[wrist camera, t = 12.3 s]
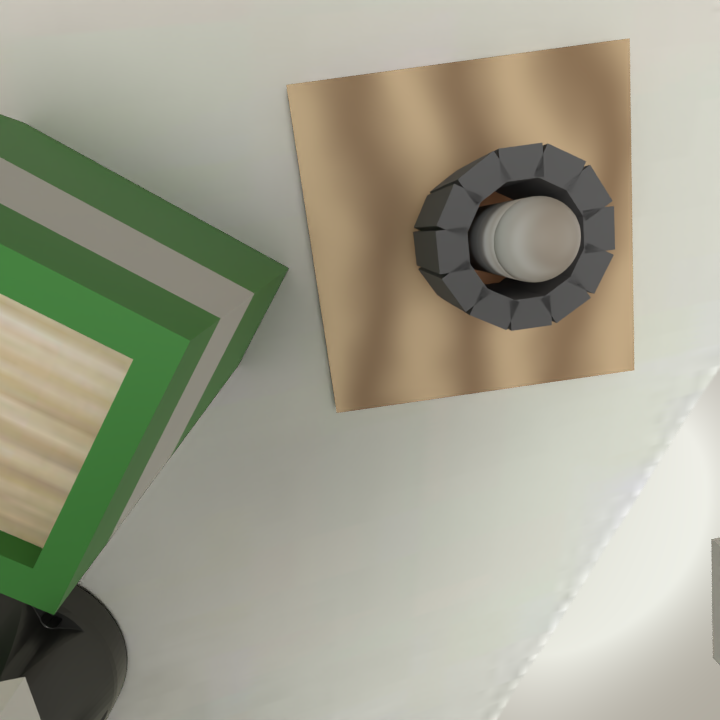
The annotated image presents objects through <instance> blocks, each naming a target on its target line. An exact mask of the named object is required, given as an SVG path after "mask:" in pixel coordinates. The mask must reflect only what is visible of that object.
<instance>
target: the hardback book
mask: <svg viewBox="0 0 720 720" xmlns="http://www.w3.org/2000/svg"><path fill="white" fill-rule="evenodd" d="M288 269H289V268H287V267H286V266H284V265H282V264H280V263H278V262H276V261H275V260H273V259H271V258H269V257H267V256H266V255H264V254H262V253H260V252H258V251H256V250H255V249H253V248H251V247H249V246H247V245H246V244H244V243H242V242H240V241H238V240H236V239H235V238H233V237H231V236H229V235H227V234H225V233H224V232H222V231H220V230H218V229H216V228H215V227H213V226H211V225H209V224H207V223H205V222H204V221H202V220H200V219H198V218H196V217H195V216H193V215H191V214H189V213H187V212H185V211H184V210H182V209H180V208H178V207H176V206H175V205H173V204H171V203H169V202H167V201H165V200H164V199H162V198H160V197H158V196H156V195H154V194H153V193H151V192H149V191H147V190H145V189H144V188H142V187H140V186H138V185H136V184H134V183H133V182H131V181H129V180H127V179H125V178H124V177H122V176H120V175H118V174H116V173H114V172H113V171H111V170H109V169H107V168H105V167H104V166H102V165H100V164H98V163H96V162H94V161H93V160H91V159H89V158H87V157H85V156H83V155H82V154H80V153H78V152H76V151H74V150H73V149H71V148H69V147H67V146H65V145H63V144H62V143H60V142H58V141H56V140H54V139H53V138H51V137H49V136H47V135H45V134H43V133H42V132H40V131H38V130H36V129H34V128H33V127H31V126H29V125H27V124H25V123H23V122H20V121H17V120H14V119H12V118H9V117H6V116H3V115H0V593H1V594H4V595H6V596H9V597H11V598H14V599H16V600H18V601H21V602H23V603H26V604H28V605H31V606H33V607H36V608H38V609H41V610H43V611H45V612H48V613H50V614H53V615H54V614H55V613H56V612H57V610H58V609H59V607H60V606H61V605H62V603H63V602H64V601H65V599H66V598H67V597H68V595H69V594H70V593H71V591H72V590H73V589H74V587H75V586H76V584H77V583H78V582H79V580H80V579H81V578H82V576H83V575H84V574H85V572H86V571H87V570H88V568H89V567H90V566H91V564H92V563H93V561H94V560H95V559H96V557H97V556H98V555H99V553H100V552H101V551H102V549H103V548H104V547H105V545H106V544H107V542H108V541H109V540H110V538H111V537H112V536H113V534H114V533H115V532H116V530H117V529H118V528H119V526H120V525H121V524H122V522H123V521H124V519H125V518H126V517H127V515H128V514H129V513H130V511H131V510H132V509H133V507H134V506H135V505H136V503H137V502H138V501H139V499H140V498H141V496H142V495H143V494H144V492H145V491H146V490H147V488H148V487H149V486H150V484H151V483H152V482H153V480H154V479H155V478H156V476H157V475H158V473H159V472H160V471H161V469H162V468H163V467H164V465H165V464H166V463H167V461H168V460H169V459H170V457H171V456H172V454H173V453H174V452H175V450H176V449H177V448H178V446H179V445H180V444H181V442H182V441H183V440H184V438H185V437H186V436H187V434H188V433H189V431H190V430H191V429H192V427H193V426H194V425H195V423H196V422H197V421H198V419H199V418H200V417H201V415H202V414H203V413H204V411H205V410H206V408H207V407H208V406H209V404H210V403H211V402H212V400H213V399H214V398H215V396H216V395H217V394H218V392H219V391H220V390H221V388H222V387H223V385H224V384H225V383H226V381H227V380H228V379H229V377H230V376H231V375H232V373H233V372H234V371H235V369H236V368H237V366H238V365H239V363H240V361H241V359H242V357H243V355H244V353H245V351H246V349H247V348H248V346H249V344H250V342H251V340H252V338H253V336H254V334H255V332H256V330H257V328H258V326H259V324H260V323H261V321H262V319H263V317H264V315H265V313H266V311H267V309H268V307H269V305H270V303H271V301H272V300H273V298H274V296H275V294H276V292H277V290H278V288H279V286H280V284H281V282H282V280H283V278H284V277H285V275H286V273H287V271H288Z"/></svg>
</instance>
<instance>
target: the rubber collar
mask: <svg viewBox="0 0 720 720" xmlns="http://www.w3.org/2000/svg"><path fill="white" fill-rule="evenodd" d="M585 163H586V161H585V160H583V159H580V158H578V157H576V156H574V155H572V154H570V153H568V152H565V151H563V150H561V149H559V148H557V147H555V146H553V145H550V144H548V143H547V144H545V145H543V143H535V144H528V145H521V146H514V147H506V148H499V149H497V150H495V151H492V152H490V153H488V154H487V155H485V156H483V157H481V158H479V159H477V160H475V161H473V162H471V163H470V164H468V165H466V166H464V167H462V168H460V169H458V170H457V171H455V172H454V173H453V174H452V175H450V176H449V177H448V178H446V179H445V180H444V181H443V182H441V183H440V184H439V185H438V186H436V187H435V188H434V189H433V190H431V191H430V193H431V194H429V195H427V197H426V199H425V202H424V204H423V206H422V209H421V211H420V214H419V216H418V218H417V221H416V223H415V225H414V228H416V229H418V230H420V231H415V232H413V236H414V245H415V255H416V264H417V266H420V268H419V269H418V270H419V271H420V272H421V274H422V275H423V276H424V278H425V279H426V281H427V282H428V283H429V285H430V286H431V287H432V289H433V290H434V291H435V293H436V294H437V295H438V296H440V298H442V299H444V300H445V301H447V302H449V303H450V304H452V305H454V306H455V307H457V308H459V309H460V310H462V311H464V312H465V313H467V314H469V315H471V316H473V317H475V318H478V319H480V320H483V321H485V322H488V323H490V324H492V325H495V326H497V327H500V328H502V329H505V330H507V329H509V330H511V331H514V330H521V329H528V328H535V327H542V326H549V325H552V321H553V322H555V323H558V322H559V321H560V320H562V319H563V318H564V317H566V316H567V315H568V314H570V313H571V312H572V311H574V310H575V309H577V308H578V307H579V306H581V305H582V304H583V303H585V302H586V301H587V300H589V299H590V298H591V297H590V296H589V294H588V293H587V292H589V293H593V294H595V292H596V290H597V288H598V286H599V284H600V282H601V280H602V278H603V276H604V274H605V272H606V270H607V268H608V266H609V264H610V262H611V260H612V258H613V256H614V255H613V254H611V253H609V252H607V251H608V250H615V222H614V206H610V207H605V206H607V205H608V204H609V203H611V202H612V199H611V197H610V196H609V194H608V193H607V191H606V189H605V188H604V186H603V185H602V183H601V181H600V180H599V178H598V176H597V175H596V173H595V172H594V170H593V168H592V167H591V165H588V166H584V165H585ZM494 191H495V192H497V193H499V194H501V195H504V196H506V197H508V198H510V199H513V200H517V199H522V198H527V197H532V196H547V197H551V198H554V199H557V200H559V201H561V202H563V203H564V204H565V205H567V206H568V207H569V208H570V209H571V210H572V212H573V213H574V214H575V216H576V218H577V220H578V222H579V226H580V231H581V242H580V247H579V250H578V253H577V255H576V257H575V259H574V261H573V262H572V263H571V265H570V266H569V267H568V268H567V269H566V270H565V271H563V272H562V273H561V274H560V275H558V276H556V277H554V278H552V279H549V280H547V281H543V282H524V281H520V280H516V279H512V278H508V277H506V278H504V279H503V280H502V281H500V282H499V283H492V284H484V283H483V282H482V280H481V279H480V277H479V276H478V275H477V273H476V272H475V270H474V269H473V267H472V266H471V265H470V256H469V245H468V233H467V232H468V230H469V228H470V226H471V223H472V221H473V219H474V216H475V214H476V212H477V210H478V207H479V205H480V203H481V202H482V201H483V200H484V199H486V198H487V197H488V196H489V195H491V194H492V193H493V192H494Z"/></svg>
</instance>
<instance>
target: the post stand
mask: <svg viewBox="0 0 720 720" xmlns="http://www.w3.org/2000/svg"><path fill="white" fill-rule="evenodd" d="M286 86H287V92H288V99H289V105H290V112H291V118H292V125H293V131H294V138H295V144H296V151H297V157H298V164H299V170H300V177H301V183H302V190H303V196H304V203H305V209H306V216H307V222H308V229H309V235H310V242H311V248H312V255H313V261H314V268H315V274H316V281H317V287H318V294H319V300H320V307H321V313H322V320H323V326H324V333H325V339H326V346H327V352H328V359H329V365H330V372H331V378H332V385H333V391H334V398H335V404H336V411H337V413H339V412H346V411H353V410H360V409H367V408H374V407H381V406H388V405H395V404H402V403H409V402H416V401H423V400H430V399H437V398H444V397H451V396H458V395H465V394H472V393H479V392H485V391H492V390H499V389H506V388H513V387H520V386H527V385H534V384H541V383H548V382H555V381H562V380H569V379H576V378H583V377H590V376H597V375H604V374H611V373H618V372H625V371H632V370H634V320H633V249H632V178H631V108H630V38H629V39H622V40H614V41H607V42H600V43H592V44H585V45H578V46H570V47H563V48H556V49H548V50H541V51H533V52H526V53H519V54H511V55H504V56H497V57H489V58H482V59H474V60H467V61H460V62H452V63H445V64H438V65H430V66H423V67H415V68H408V69H401V70H393V71H386V72H379V73H371V74H364V75H356V76H349V77H342V78H334V79H327V80H320V81H312V82H305V83H297V84H290V85H286ZM535 143H543V145H545V144H547V143H548V144H550V145H553V146H555V147H557V148H559V149H561V150H563V151H565V152H568V153H570V154H572V155H574V156H576V157H578V158H580V159H583V160H585V161H586V163H585V165H584V166H588V165H591V167H592V168H593V170H594V172H595V173H596V175H597V176H598V178H599V180H600V181H601V183H602V185H603V186H604V188H605V189H606V191H607V193H608V194H609V196H610V197H611V199H612V202H611V203H609V204H608V205H607V206H605V207H610V206H614V222H615V250H608V251H607V252H609V253H611V254H613V255H614V256H613V258H612V260H611V262H610V264H609V266H608V268H607V270H606V272H605V274H604V276H603V278H602V280H601V282H600V284H599V286H598V288H597V290H596V292H595V294H593V293H589V292H587V293H588V294H589V296H590V297H591V298H590V299H589V300H587V301H586V302H585V303H583V304H582V305H581V306H579V307H578V308H577V309H575V310H574V311H572V312H571V313H570V314H568V315H567V316H566V317H564V318H563V319H562V320H560V321H559V322H558V323H555V322H553V321H552V325H549V326H542V327H535V328H528V329H521V330H514V331H511V330H509V329H507V330H505V329H502V328H500V327H497V326H495V325H492V324H490V323H488V322H485V321H483V320H480V319H478V318H475V317H473V316H471V315H469V314H467V313H465V312H464V311H462V310H460V309H459V308H457V307H455V306H454V305H452V304H450V303H449V302H447V301H445V300H444V299H442V298H440V296H438V295H437V294H436V293H435V291H434V290H433V289H432V287H431V286H430V285H429V283H428V282H427V281H426V279H425V278H424V276H423V275H422V274H421V272H420V271H419V270H418V269H419V268H420V266H417V264H416V255H415V245H414V236H413V232H415V231H420V230H418V229H416V228H414V225H415V223H416V221H417V218H418V216H419V214H420V211H421V209H422V206H423V204H424V202H425V199H426V197H427V195H429V194H431V193H430V191H431V190H433V189H434V188H435V187H436V186H438V185H439V184H440V183H441V182H443V181H444V180H445V179H446V178H448V177H449V176H450V175H452V174H453V173H454V172H455V171H457V170H458V169H460V168H462V167H464V166H466V165H468V164H470V163H471V162H473V161H475V160H477V159H479V158H481V157H483V156H485V155H487V154H488V153H490V152H492V151H495V150H497V149H499V148H506V147H514V146H521V145H528V144H535ZM467 233H468V245H469V256H470V265H471V266H472V267H473V269H474V270H475V272H476V273H477V275H478V276H479V277H480V279H481V280H482V282H483V283H484V284H492V283H499V282H500V281H502V280H503V279H504V278H506V277H508V278H512V279H516V280H520V281H524V282H543V281H547V280H549V279H552V278H554V277H556V276H558V275H560V274H561V273H562V272H563V271H565V270H566V269H567V268H568V267H569V266H570V265H571V263H572V262H573V261H574V259H575V257H576V255H577V253H578V250H579V247H580V242H581V231H580V226H579V222H578V220H577V218H576V216H575V214H574V213H573V212H572V210H571V209H570V208H569V207H568V206H567V205H565V204H564V203H563V202H561V201H559V200H557V199H554V198H551V197H547V196H532V197H527V198H522V199H517V200H513V199H510V198H508V197H506V196H504V195H501V194H499V193H497V192H495V191H494V192H493V193H492V194H491V195H489V196H488V197H487V198H486V199H484V200H483V201H482V202H481V203H480V205H479V207H478V210H477V212H476V214H475V216H474V219H473V221H472V223H471V226H470V228H469V230H468V232H467Z"/></svg>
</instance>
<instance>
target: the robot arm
mask: <svg viewBox="0 0 720 720" xmlns="http://www.w3.org/2000/svg"><path fill="white" fill-rule="evenodd" d="M712 613H713V614H712V619H713V620H712V623H713V658H714V660H715V661H716V662H717V663H718V664H719V665H720V538H715V539H712ZM126 670H127V654H126V648H125V644H124V640H123V637H122V635H121V632H120V630H119V628H118V626H117V624H116V623H115V621H114V619H113V618H112V617H111V615H110V614H109V612H108V611H107V610H106V609H105V608H104V607H103V606H102V605H101V604H100V603H99V602H98V601H97V600H96V599H95V598H94V597H93V596H91V595H90V594H89V593H87V592H86V591H85V590H83V589H82V588H80V587H78V586H77V585H76V586H75V587H74V589H73V590H72V591H71V593H70V594H69V595H68V597H67V598H66V599H65V601H64V602H63V603H62V605H61V606H60V607H59V609H58V610H57V612H56V613H55V614H54V615H53V614H50V613H48V612H45V611H43V610H41V609H38V608H36V607H33V606H31V605H28V604H26V603H23V602H21V601H18V600H16V599H14V598H11V597H9V596H6V595H4V594H1V593H0V720H106V719H107V718H108V716H109V714H110V712H111V710H112V708H113V706H114V704H115V702H116V699H117V697H118V695H119V693H120V691H121V689H122V686H123V683H124V680H125V676H126Z"/></svg>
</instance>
